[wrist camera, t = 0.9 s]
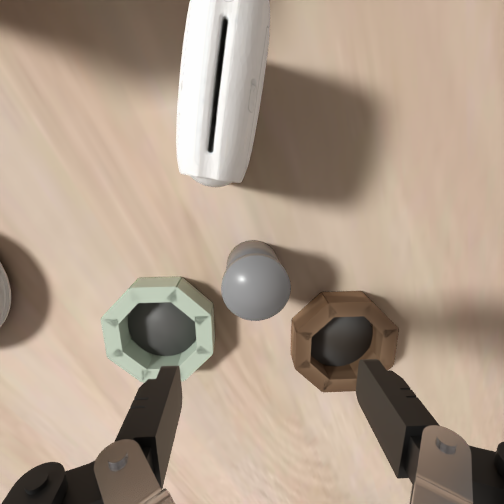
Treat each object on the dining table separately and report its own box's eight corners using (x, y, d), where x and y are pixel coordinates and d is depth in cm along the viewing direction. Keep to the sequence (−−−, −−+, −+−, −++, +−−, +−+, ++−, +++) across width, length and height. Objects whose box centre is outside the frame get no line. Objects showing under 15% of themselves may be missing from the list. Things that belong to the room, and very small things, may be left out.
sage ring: (107, 278, 28) (95, 288, 26) (211, 276, 28) (209, 285, 26) (121, 367, 31) (111, 383, 28) (216, 363, 31) (214, 379, 29)
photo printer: (210, 47, 23) (180, -81, 11) (262, 58, 24) (287, -56, 12) (195, 178, 26) (159, 185, 14) (243, 186, 26) (247, 199, 14)
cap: (223, 238, 28) (220, 256, 22) (280, 237, 28) (291, 255, 22) (225, 291, 29) (222, 321, 23) (279, 290, 29) (289, 319, 23)
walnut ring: (292, 292, 29) (297, 303, 27) (389, 290, 30) (403, 300, 27) (289, 376, 32) (294, 393, 30) (378, 373, 32) (390, 389, 30)
